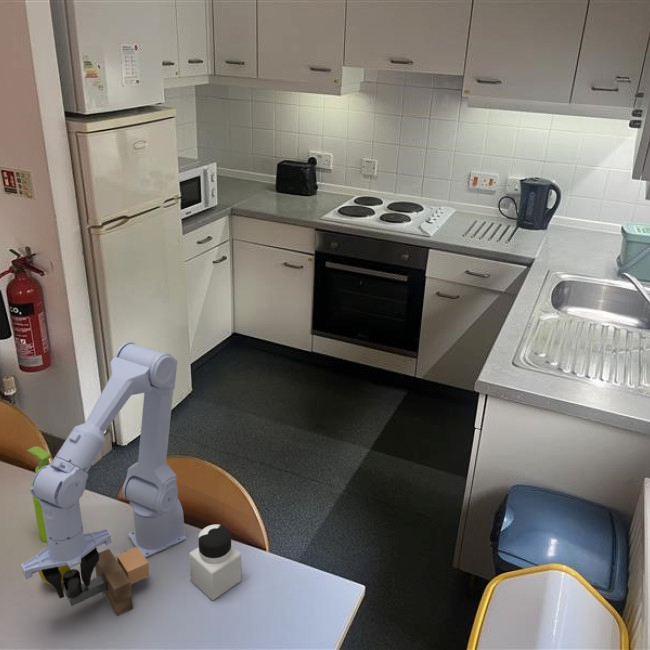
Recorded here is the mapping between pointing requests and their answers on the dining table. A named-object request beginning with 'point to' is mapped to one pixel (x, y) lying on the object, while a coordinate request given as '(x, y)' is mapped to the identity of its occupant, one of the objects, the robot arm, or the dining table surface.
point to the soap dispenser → (43, 461)
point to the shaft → (82, 587)
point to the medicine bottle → (215, 562)
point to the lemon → (61, 569)
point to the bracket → (115, 582)
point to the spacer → (134, 564)
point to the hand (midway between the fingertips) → (73, 588)
